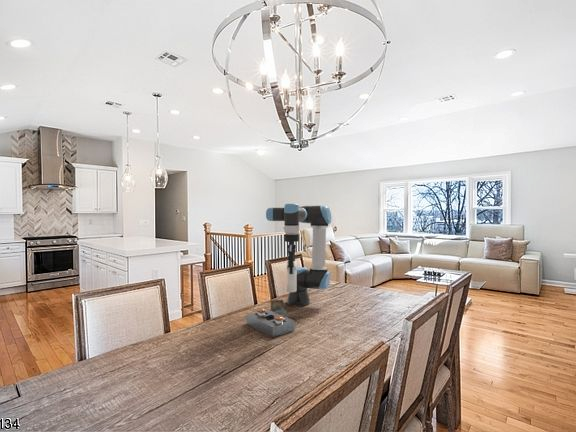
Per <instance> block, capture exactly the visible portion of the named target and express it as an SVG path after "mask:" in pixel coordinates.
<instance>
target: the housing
mask: <svg viewBox="0 0 576 432" xmlns="http://www.w3.org/2000/svg"><path fill="white" fill-rule="evenodd" d="M276 315H280V314H277V313H275V312H272V311H271V309H266V311H265V315H261V316H258V312H257V311H255V312H252V313H248V314H246V324H247V325H248V326H250V327H252V328H254V329H256V330H258V331H260V332H262V333H264V334H266V335H267V336H269V337H271V338H276V337H278V336H282V335H285V334H289V333H290V332H294V331H295V329H296V328H295V327H296V326H295V325H296V323H295V322H296V321H295V320H294V319H292V318H290V317H288V316H287V317H284V319H283V323H280V324H275V319H274V316H276Z"/></svg>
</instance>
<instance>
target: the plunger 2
mask: <svg viewBox="0 0 576 432" xmlns="http://www.w3.org/2000/svg"><path fill="white" fill-rule="evenodd" d="M274 319H275V324H280V323H283V319H284V316H282V315H276V316H274Z"/></svg>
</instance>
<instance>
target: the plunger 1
mask: <svg viewBox="0 0 576 432" xmlns="http://www.w3.org/2000/svg"><path fill="white" fill-rule="evenodd" d="M266 310H267V308H265V307H257V308H256V312H258V316H261V315H265V311H266Z"/></svg>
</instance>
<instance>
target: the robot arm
mask: <svg viewBox="0 0 576 432" xmlns="http://www.w3.org/2000/svg"><path fill="white" fill-rule="evenodd" d="M265 219H266V220H267V221H269V222H284V226H283V228H282V229H283V230H284V231H283V233H284V236H283V237H284V238H283V239H284V242H286V243H287V242H288V245H287V255H288V257H287V262H288V266H287V265H286V269H287V268H289V280H294V261H296V247H297V245H296V244H295V243H297V242H299V241H300V234H299V233H300V223H302V224H310V227H311V228H312V252H311V257H312V258H311V266H310V267H309V269H308V268H307V267H304V266H303V267H297V291H296V292H288V296H287V299H286V303H287V305H290V306H292V307H305V306H308V305H310V304H311V300H310V296H309V293H308V289H310V290H311V289H312V290H321V291H322V290H327V289H328V287H329V286H330V282H331V272H330V271H329V270H328V267H327V266H326V253H327V252H326V251H327V250H326V249H327V247H326V246H327V245H326V243H327V242H326V241H327V228H329V225H331V223H332V213H331V210H330V207H328V205H302V206H300V205H299V203H285V204H284V207H268V208H267V209H266V211H265Z"/></svg>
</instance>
